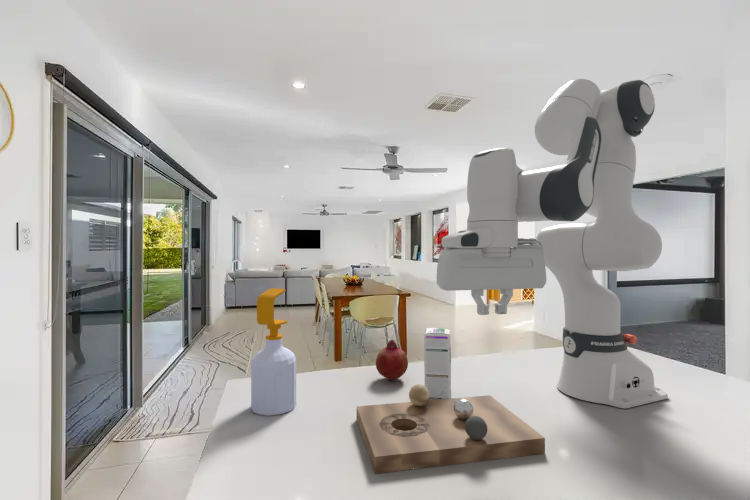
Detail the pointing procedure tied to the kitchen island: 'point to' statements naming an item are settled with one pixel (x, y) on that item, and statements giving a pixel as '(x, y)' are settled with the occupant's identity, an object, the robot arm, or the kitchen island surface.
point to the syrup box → (437, 362)
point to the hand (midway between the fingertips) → (491, 314)
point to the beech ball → (419, 395)
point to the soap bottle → (272, 364)
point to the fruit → (391, 361)
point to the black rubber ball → (476, 427)
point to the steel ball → (463, 409)
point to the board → (442, 434)
